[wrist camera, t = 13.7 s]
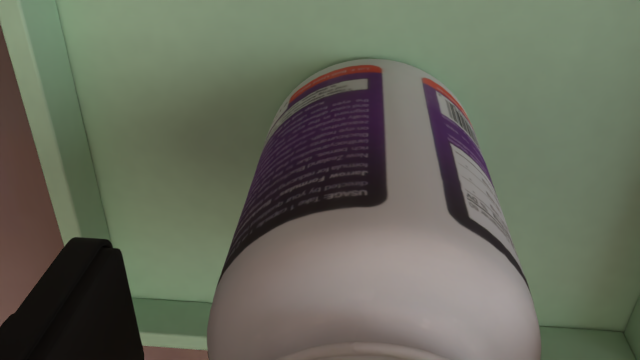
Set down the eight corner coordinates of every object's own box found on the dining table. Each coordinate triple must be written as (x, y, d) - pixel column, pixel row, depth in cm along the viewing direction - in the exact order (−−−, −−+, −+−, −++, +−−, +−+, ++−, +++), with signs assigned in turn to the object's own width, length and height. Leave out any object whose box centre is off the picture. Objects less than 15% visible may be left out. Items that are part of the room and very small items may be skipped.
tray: (832, -129, 11) (914, -122, 10) (631, 333, 18) (657, 385, 17) (9, -147, 12) (-50, -143, 11) (115, 297, 19) (90, 342, 18)
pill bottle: (257, 212, 16) (138, 601, 8) (285, 32, 13) (145, 352, 5) (439, 248, 16) (506, 666, 8) (505, 78, 14) (708, 460, 5)
